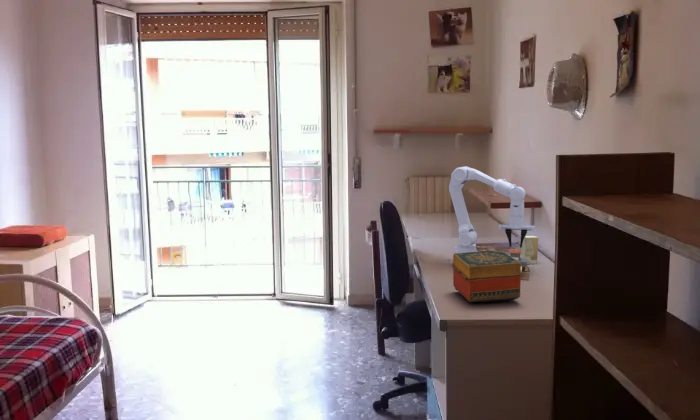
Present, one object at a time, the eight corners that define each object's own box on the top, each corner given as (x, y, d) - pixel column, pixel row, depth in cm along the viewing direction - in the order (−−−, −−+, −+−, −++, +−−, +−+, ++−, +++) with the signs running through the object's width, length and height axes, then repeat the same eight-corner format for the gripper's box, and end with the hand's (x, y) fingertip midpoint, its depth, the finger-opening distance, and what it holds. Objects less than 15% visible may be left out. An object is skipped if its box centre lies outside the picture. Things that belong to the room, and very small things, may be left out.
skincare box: (525, 264, 273) (526, 237, 272) (520, 262, 277) (521, 235, 276) (537, 263, 275) (538, 236, 273) (532, 261, 279) (533, 235, 278)
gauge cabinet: (502, 271, 259) (502, 260, 258) (503, 267, 267) (503, 256, 266) (526, 273, 256) (527, 261, 255) (527, 269, 264) (527, 258, 263)
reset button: (508, 262, 259) (508, 251, 258) (509, 259, 264) (509, 249, 263) (521, 263, 258) (521, 252, 257) (521, 260, 262) (522, 249, 262)
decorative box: (505, 292, 231) (504, 249, 230) (524, 303, 209) (522, 255, 208) (452, 295, 230) (450, 252, 229) (465, 307, 208) (463, 259, 207)
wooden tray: (475, 276, 251) (475, 268, 251) (478, 270, 262) (478, 262, 261) (528, 280, 245) (528, 271, 244) (529, 274, 255) (529, 265, 255)
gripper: (498, 215, 256) (497, 247, 258) (534, 217, 252) (533, 249, 254) (499, 213, 263) (498, 244, 265) (534, 215, 259) (533, 246, 261)
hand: (515, 246), depth 260 cm, fingers open, 4 cm apart
